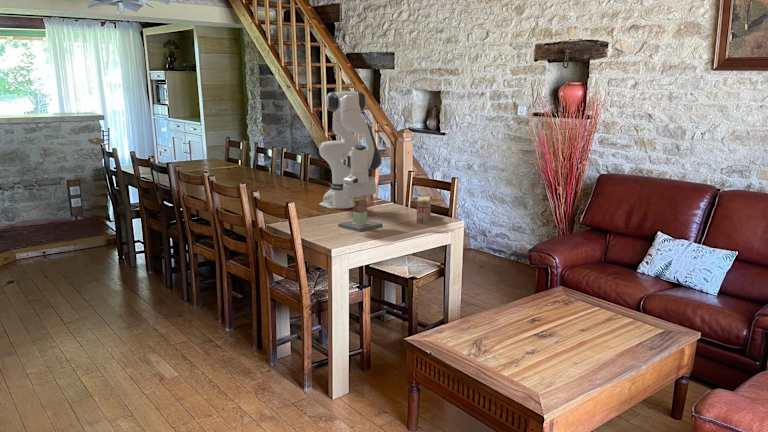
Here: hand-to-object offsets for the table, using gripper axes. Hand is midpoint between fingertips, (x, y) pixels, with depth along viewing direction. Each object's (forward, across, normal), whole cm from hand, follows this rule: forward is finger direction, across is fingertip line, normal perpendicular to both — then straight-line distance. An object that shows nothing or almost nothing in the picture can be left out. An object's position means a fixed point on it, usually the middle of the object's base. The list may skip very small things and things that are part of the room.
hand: (360, 205), depth 311 cm
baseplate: (+11, 0, 0) cm, 11 cm away
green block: (+9, 0, 0) cm, 9 cm away
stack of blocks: (+11, -35, +12) cm, 39 cm away
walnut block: (+3, 0, 0) cm, 3 cm away
